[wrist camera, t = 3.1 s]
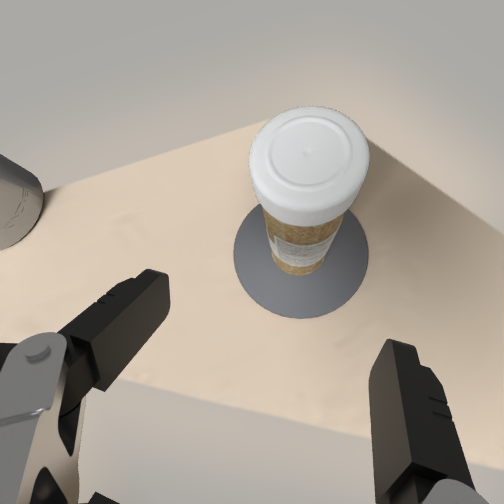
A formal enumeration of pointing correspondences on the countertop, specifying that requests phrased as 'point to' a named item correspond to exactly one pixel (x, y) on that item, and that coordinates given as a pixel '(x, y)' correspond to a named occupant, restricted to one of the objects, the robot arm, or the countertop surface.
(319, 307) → the coaster
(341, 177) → the sprinkles bottle
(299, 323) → the countertop surface
